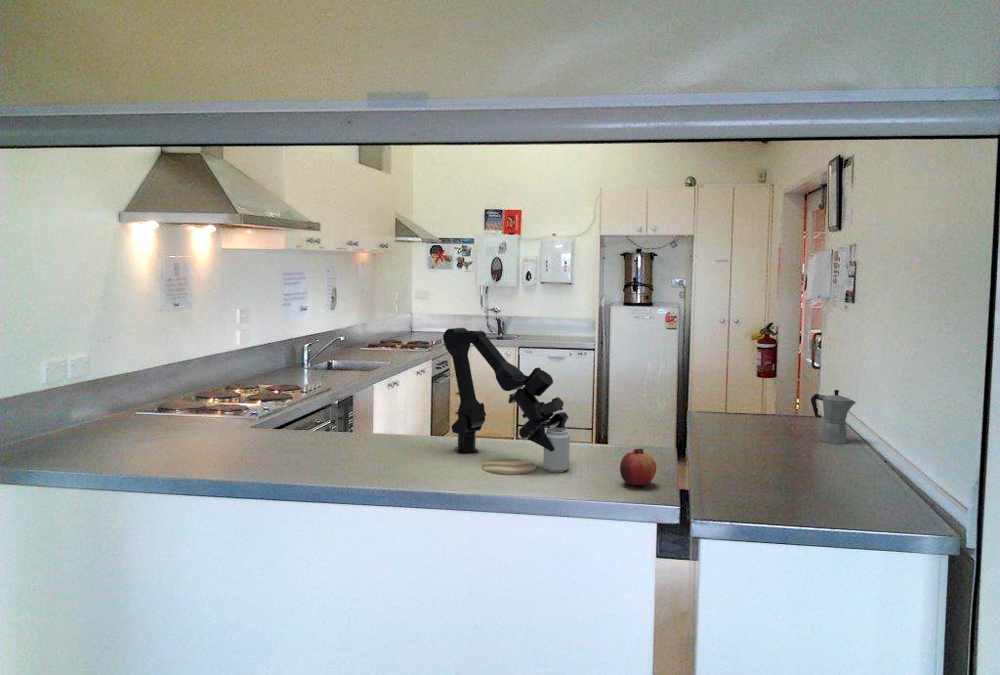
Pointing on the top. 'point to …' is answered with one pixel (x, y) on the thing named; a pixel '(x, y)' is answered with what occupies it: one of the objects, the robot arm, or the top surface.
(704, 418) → the top surface
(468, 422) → the robot arm
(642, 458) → the fruit
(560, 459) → the can
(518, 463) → the trivet
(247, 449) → the top surface
